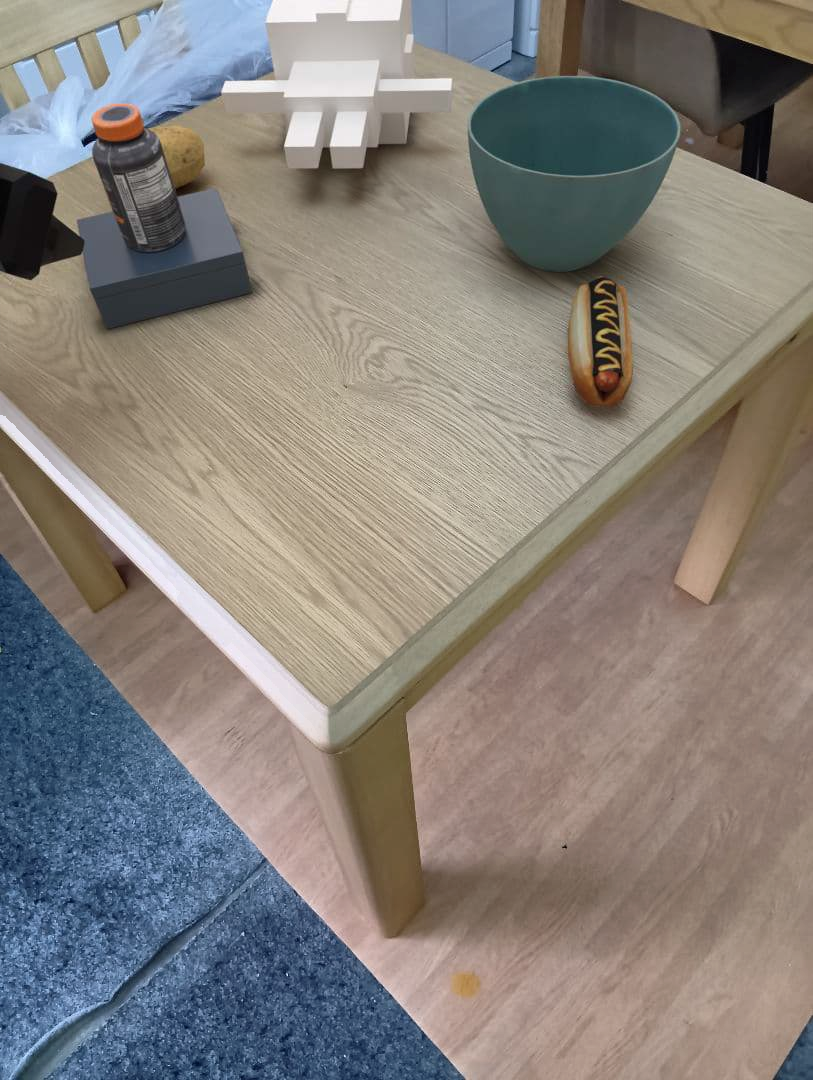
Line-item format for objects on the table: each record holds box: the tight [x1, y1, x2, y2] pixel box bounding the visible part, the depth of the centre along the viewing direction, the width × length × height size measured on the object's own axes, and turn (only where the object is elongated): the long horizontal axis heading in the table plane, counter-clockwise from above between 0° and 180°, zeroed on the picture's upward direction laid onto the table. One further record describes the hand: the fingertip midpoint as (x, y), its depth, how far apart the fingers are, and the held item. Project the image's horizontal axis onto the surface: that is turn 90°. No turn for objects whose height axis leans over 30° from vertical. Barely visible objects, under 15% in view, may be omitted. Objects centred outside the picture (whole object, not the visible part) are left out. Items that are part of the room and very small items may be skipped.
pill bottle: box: [91, 102, 186, 252], centre depth 70 cm, size 6×6×11 cm
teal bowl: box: [467, 75, 682, 273], centre depth 73 cm, size 18×18×12 cm
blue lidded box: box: [76, 187, 253, 330], centre depth 76 cm, size 14×12×4 cm
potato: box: [147, 125, 206, 190], centre depth 86 cm, size 7×11×6 cm, turn 94°
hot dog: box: [567, 275, 634, 408], centre depth 66 cm, size 5×13×5 cm, turn 174°
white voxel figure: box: [220, 0, 453, 169], centre depth 87 cm, size 15×25×28 cm
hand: (37, 231), depth 59 cm, fingers open, 9 cm apart
